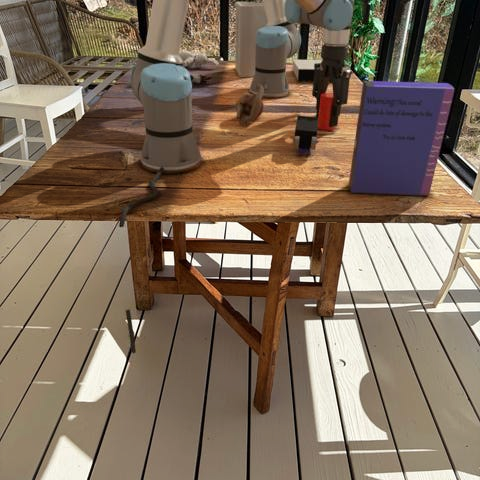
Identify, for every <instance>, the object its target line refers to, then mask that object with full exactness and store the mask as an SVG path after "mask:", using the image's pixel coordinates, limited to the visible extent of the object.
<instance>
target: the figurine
mask: <svg viewBox="0 0 480 480" xmlns="http://www.w3.org/2000/svg"><path fill="white" fill-rule="evenodd" d="M189 74H190V78H191V83H193V82H194V83H195V84H199V85H200V84H207V83H208V82H209V81H211V80H212V79H213V76H212V75H208V76H207V75H202V73H200V74H198V75H197V74H196V75H194V74H192V73H189Z"/></svg>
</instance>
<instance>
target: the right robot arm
mask: <svg viewBox="0 0 480 480" xmlns="http://www.w3.org/2000/svg"><path fill="white" fill-rule="evenodd" d="M285 1H286V0H262V3H263V5H264V10H265V14H266V19H267V23H266V25H265V27H263V28H260V29H259V30H258V31H257V34H256V40H255V41H256V55H255V74H254V76H252V81H251V84H250V86H249V93H250V94H255V95H257V93H258V91H259V90H257V89H256V85H258V84H260V85H262V86H263V88H264V94H263V96H262V98H261V99H281V98H284V97H288V96H289V95H290V87H289V86H290V85H289V82H288V78H287V73H286V71H287V60H288V59H291V58H292V57H293V56H295V55H296V54H297V53H298V51H299V50H300V48H301V43H302V36H301V33H300V31H299V30H298V29H297V28H296V25H295V24H296V23H289V22H288V21H287V20H286V17H285V12H284V7H285ZM357 1H358V2H359V3H361V4H362V7H361V8H362V9H361V14H362V20H361V21H362V22H361V24H362V25H364V26H369V22H370V16H371V9H372V4H371V1H372V0H357ZM398 1H399V2H397V3H396V8H395V14H394V21H393V23H394V24H397V25H401V23H402V16H403V14H404V12H405V7H406V5H407V4H408V3H409V2H411V1H412V0H398Z"/></svg>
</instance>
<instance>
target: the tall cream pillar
mask: <svg viewBox="0 0 480 480" xmlns="http://www.w3.org/2000/svg"><path fill="white" fill-rule="evenodd" d="M266 23H267V19H266V14H265V10H264V5H263V2H252V1H235V59H234V60H235V62H234V63H235V65H234V66H235V68H234V69H235V71H236V73H237V75H238V77H239V78H253V77H254V74H255V55H256V41H255V40H256V34H257V31H258V30H259V29H260V28H263V27H265V25H266Z"/></svg>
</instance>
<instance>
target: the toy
mask: <svg viewBox="0 0 480 480" xmlns="http://www.w3.org/2000/svg"><path fill="white" fill-rule="evenodd" d="M179 55H180V57H181V59H182V60H183V66H182V67H184V68H186V67H187V66H191V65H192V64H194V67H197V69H198V68H199V69H200V68H202V65H207V63H210V64H213V65H214V66H215V67H218V66H219V65H220V63H219V62H218V61H217V60H216V59H214V58H208V56H207V55H206V54H204V53H202V52H201V51H197V52H192V51H189V50H183V51H180V50H179Z"/></svg>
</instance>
